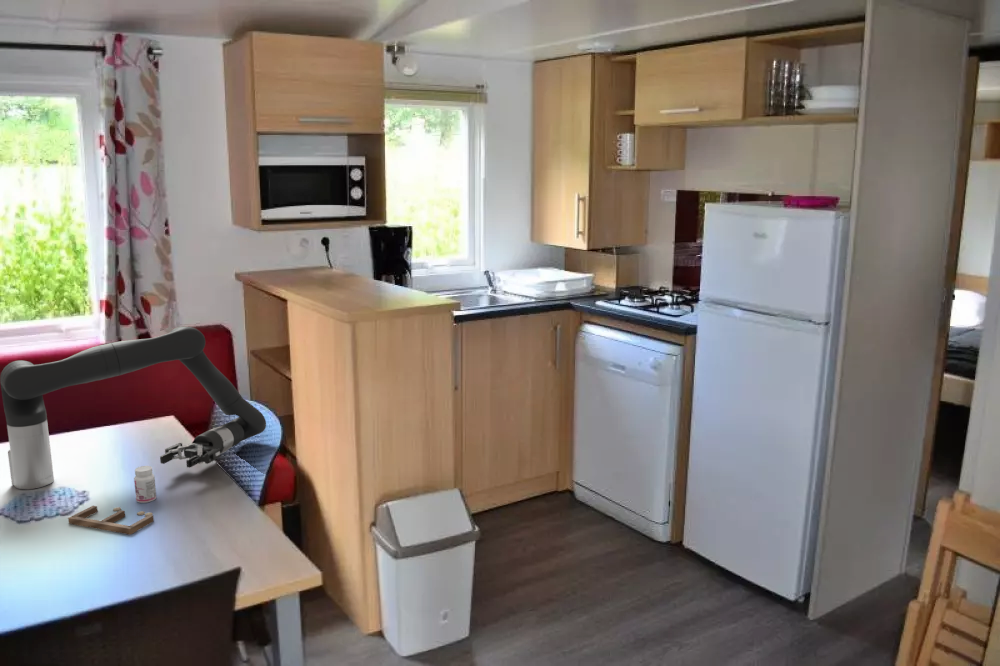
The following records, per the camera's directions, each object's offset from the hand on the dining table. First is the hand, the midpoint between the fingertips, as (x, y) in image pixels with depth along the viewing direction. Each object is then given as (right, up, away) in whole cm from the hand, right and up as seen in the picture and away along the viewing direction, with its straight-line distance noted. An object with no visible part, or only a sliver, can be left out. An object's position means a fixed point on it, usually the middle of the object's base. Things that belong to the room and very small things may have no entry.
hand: (174, 462), depth 218 cm
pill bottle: (-4, -8, -9) cm, 13 cm away
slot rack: (-6, -11, -22) cm, 25 cm away
